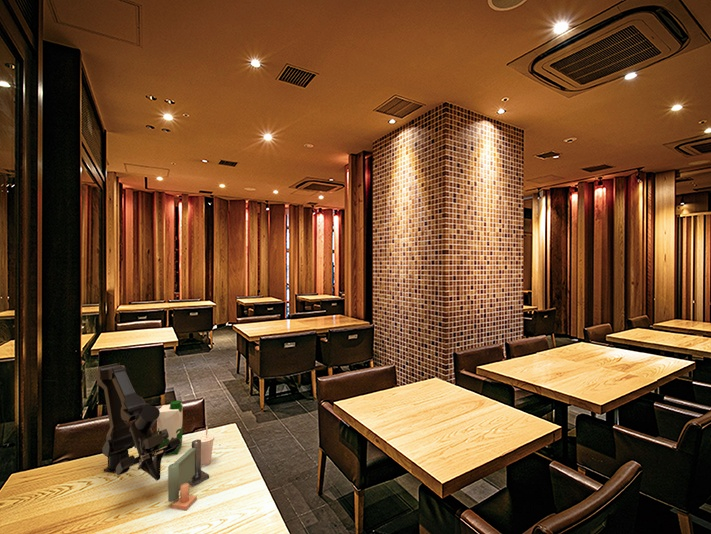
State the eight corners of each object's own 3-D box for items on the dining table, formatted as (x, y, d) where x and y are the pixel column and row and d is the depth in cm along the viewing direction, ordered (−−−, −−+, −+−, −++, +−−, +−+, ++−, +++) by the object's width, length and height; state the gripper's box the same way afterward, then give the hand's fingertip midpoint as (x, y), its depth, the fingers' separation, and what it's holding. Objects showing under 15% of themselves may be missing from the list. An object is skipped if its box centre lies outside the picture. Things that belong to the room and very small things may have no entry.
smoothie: (207, 468, 130) (207, 431, 130) (192, 466, 131) (192, 429, 131) (217, 459, 136) (217, 423, 136) (203, 457, 137) (203, 422, 137)
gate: (189, 477, 121) (189, 447, 121) (197, 478, 121) (197, 448, 121) (166, 501, 109) (166, 468, 109) (175, 502, 108) (174, 468, 108)
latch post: (172, 508, 108) (172, 489, 108) (183, 498, 113) (183, 479, 113) (186, 510, 107) (186, 491, 107) (196, 499, 112) (196, 481, 112)
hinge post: (199, 472, 127) (199, 435, 127) (209, 478, 123) (208, 440, 124) (183, 480, 122) (183, 442, 122) (193, 486, 119) (192, 447, 119)
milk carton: (179, 455, 139) (178, 405, 139) (154, 458, 137) (154, 408, 137) (184, 444, 148) (184, 397, 148) (161, 447, 145) (161, 399, 146)
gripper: (119, 435, 108) (134, 483, 101) (179, 414, 123) (195, 455, 116) (109, 452, 112) (123, 499, 106) (167, 430, 127) (183, 470, 121)
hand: (158, 479), depth 112 cm, fingers closed
